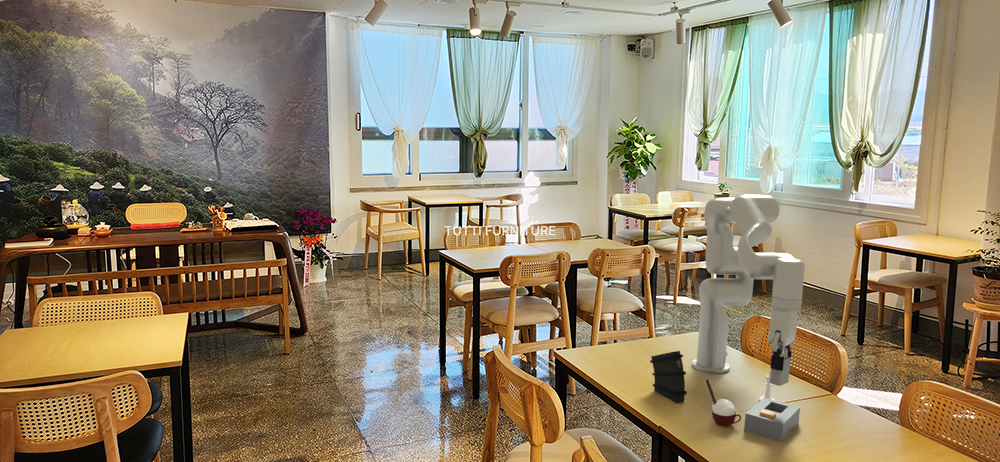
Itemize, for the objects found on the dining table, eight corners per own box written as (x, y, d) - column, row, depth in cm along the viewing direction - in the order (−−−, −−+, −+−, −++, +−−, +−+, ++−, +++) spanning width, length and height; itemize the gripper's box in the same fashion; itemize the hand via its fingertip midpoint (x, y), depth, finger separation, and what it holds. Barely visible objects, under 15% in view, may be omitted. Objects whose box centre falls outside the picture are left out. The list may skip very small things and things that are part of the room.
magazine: (683, 403, 198) (671, 351, 201) (656, 405, 209) (645, 357, 213) (693, 401, 199) (681, 350, 203) (665, 404, 211) (655, 356, 214)
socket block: (762, 413, 196) (764, 394, 195) (798, 423, 189) (800, 404, 188) (743, 430, 184) (745, 410, 183) (781, 441, 178) (783, 421, 177)
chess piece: (775, 400, 206) (778, 369, 204) (776, 406, 201) (779, 374, 200) (758, 397, 208) (761, 366, 206) (758, 403, 203) (761, 372, 201)
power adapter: (789, 382, 187) (793, 340, 185) (779, 386, 184) (783, 343, 182) (778, 378, 189) (782, 337, 188) (768, 382, 186) (772, 340, 184)
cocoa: (743, 426, 186) (746, 385, 185) (729, 432, 183) (733, 390, 181) (713, 414, 194) (717, 374, 192) (700, 419, 190) (703, 379, 188)
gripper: (782, 295, 192) (776, 356, 195) (761, 306, 179) (756, 371, 182) (809, 300, 187) (803, 362, 190) (790, 311, 174) (784, 378, 177)
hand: (780, 366), depth 186 cm, fingers closed on power adapter, 5 cm apart
